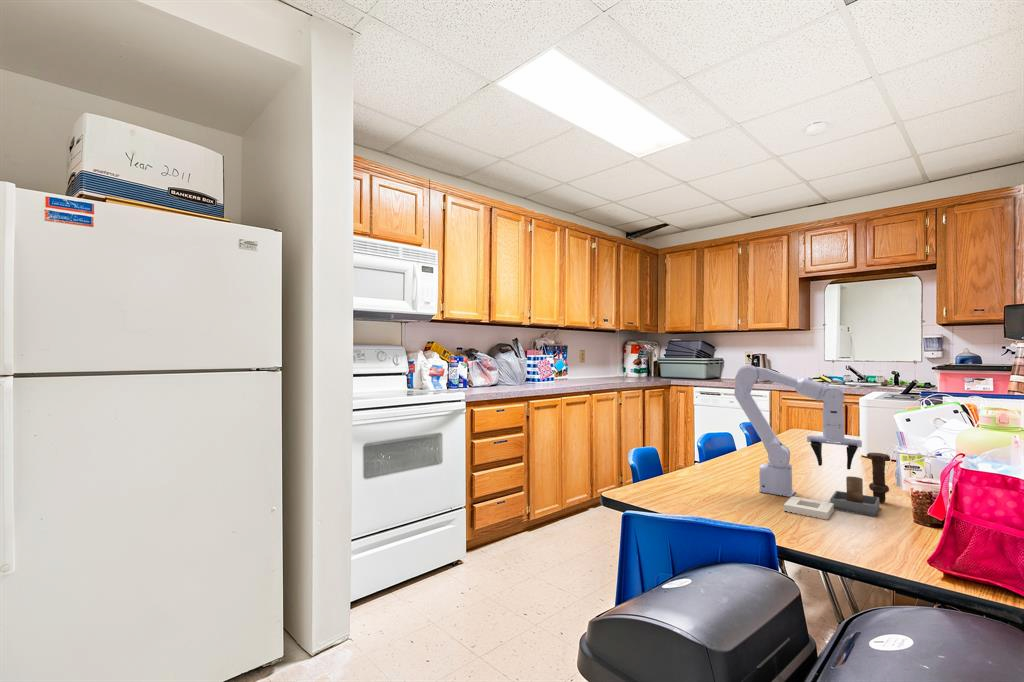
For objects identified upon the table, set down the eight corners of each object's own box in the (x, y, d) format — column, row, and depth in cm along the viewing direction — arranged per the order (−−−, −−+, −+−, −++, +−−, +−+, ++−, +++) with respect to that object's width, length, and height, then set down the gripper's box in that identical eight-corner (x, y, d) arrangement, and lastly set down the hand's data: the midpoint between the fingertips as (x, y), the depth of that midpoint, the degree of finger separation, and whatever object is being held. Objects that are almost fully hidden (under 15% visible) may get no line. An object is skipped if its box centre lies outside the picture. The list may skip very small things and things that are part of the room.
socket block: (783, 511, 143) (783, 504, 143) (792, 502, 151) (791, 496, 151) (827, 519, 135) (827, 512, 135) (833, 510, 144) (833, 503, 144)
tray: (830, 508, 145) (830, 498, 145) (836, 500, 153) (835, 490, 153) (875, 516, 138) (875, 506, 138) (879, 507, 146) (879, 497, 146)
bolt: (893, 505, 148) (892, 456, 148) (875, 504, 149) (874, 455, 149) (883, 499, 153) (882, 452, 154) (865, 498, 154) (864, 452, 155)
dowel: (845, 504, 145) (845, 478, 146) (848, 501, 148) (847, 475, 148) (861, 507, 142) (861, 480, 143) (864, 504, 145) (863, 478, 146)
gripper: (804, 423, 156) (805, 465, 156) (859, 428, 147) (860, 472, 146) (809, 421, 161) (810, 462, 161) (862, 425, 152) (863, 468, 151)
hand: (834, 467), depth 154 cm, fingers open, 7 cm apart
